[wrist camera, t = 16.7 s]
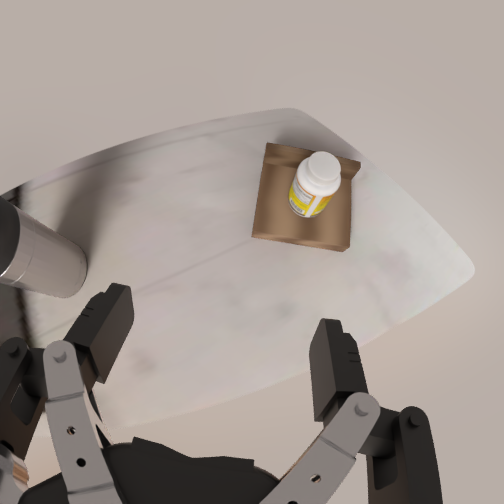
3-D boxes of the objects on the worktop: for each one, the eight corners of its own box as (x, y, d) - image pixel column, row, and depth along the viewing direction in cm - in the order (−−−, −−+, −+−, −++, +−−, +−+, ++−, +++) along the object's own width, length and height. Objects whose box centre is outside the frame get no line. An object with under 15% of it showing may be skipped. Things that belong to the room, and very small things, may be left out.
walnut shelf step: (251, 237, 43) (254, 220, 36) (262, 167, 46) (266, 142, 39) (342, 252, 43) (360, 238, 36) (344, 183, 46) (360, 162, 39)
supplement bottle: (325, 188, 42) (348, 151, 32) (322, 222, 41) (347, 191, 31) (288, 180, 42) (303, 140, 32) (284, 214, 40) (299, 180, 31)
